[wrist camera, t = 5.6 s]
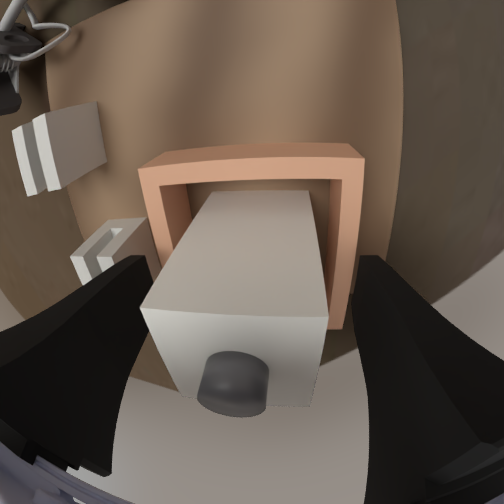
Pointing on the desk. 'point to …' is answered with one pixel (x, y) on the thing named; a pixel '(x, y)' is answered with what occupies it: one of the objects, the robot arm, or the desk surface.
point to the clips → (71, 168)
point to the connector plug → (243, 303)
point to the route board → (236, 97)
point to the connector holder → (263, 167)
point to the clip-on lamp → (19, 52)
